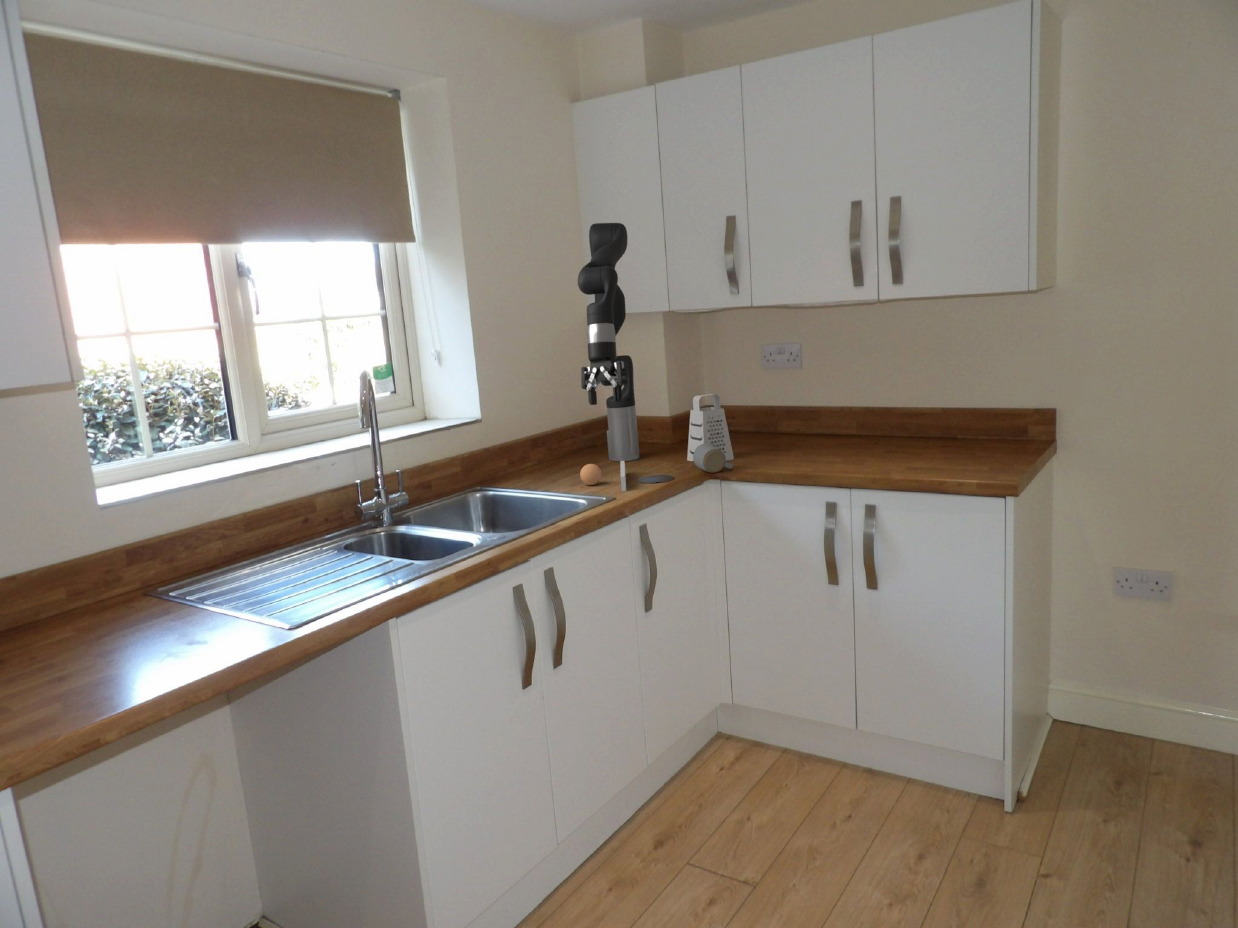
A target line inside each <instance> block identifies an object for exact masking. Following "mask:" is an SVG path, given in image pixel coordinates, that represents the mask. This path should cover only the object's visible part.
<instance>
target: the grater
mask: <svg viewBox="0 0 1238 928" xmlns="http://www.w3.org/2000/svg"><path fill="white" fill-rule="evenodd" d="M708 396H712V397H713V406H707V407H701V408H700V399H701V398H702V397H708ZM692 408H693V409H690V410H689V411H690V412H689V413H690V414H689V426H688V427H689V429H688V442H687V443H688V444H687V459H686V461H689V462H692V461H694V460H693V454H694V451H695V449H696V448H697V447H698V446H699V445H701V444H705V443H707V444H711V445H713V446H714V447H716V448H718V449H720V450H721V451H722V452H723V454H724V455H725V459H726V461H731V460H735V458H734V453H733V452H734V451H733V448H732V443H731V436H730V434H729V433H730V432H729V427H728V423H727V419H726V414H725V408H723V407H721V397H720V396H719V394H717V393H706V394H699V395H694V397H693V399H692Z"/></svg>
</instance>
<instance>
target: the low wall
mask: <svg viewBox="0 0 1238 928" xmlns="http://www.w3.org/2000/svg"><path fill="white" fill-rule="evenodd" d="M619 462H620V463H619V464H620V466H619V467H620V486H621V487H620V488H621V492H627V477H626V464H625V462H626V461H619Z"/></svg>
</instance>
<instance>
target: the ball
mask: <svg viewBox="0 0 1238 928" xmlns="http://www.w3.org/2000/svg"><path fill="white" fill-rule="evenodd" d="M579 475H580V479H581V481H582V482H583V483H584V484H585V485H588V486H594V485H596V484H598V483H599V482H601V478H602V471H601V468H600V467H599V466H598V465H597V464H594V463H588V464H585V465H584V466H583V467H582V468H581V469H580V473H579Z"/></svg>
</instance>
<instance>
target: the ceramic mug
mask: <svg viewBox="0 0 1238 928" xmlns="http://www.w3.org/2000/svg"><path fill="white" fill-rule="evenodd" d="M720 449H721V448H719V449H718V448H716V447H714V446H713V445H711V444H707V443H705V444H701V445H699V446H698V447H697V448H696V449H695V451H694V454H693V460H694V462H693V463H694V465H695V467H697V468H698V469H700V470H703V471H705V472H706V473H707V472H708V473H712V474H714V473H718V472H720V471H721V470H723V468H726V469H729V470H730V469H731V470H733V468H734V463H732V462H730V461H729V460H727V461H726V459H725V455H724V454H723V452H722V451H721V450H720Z"/></svg>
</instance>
